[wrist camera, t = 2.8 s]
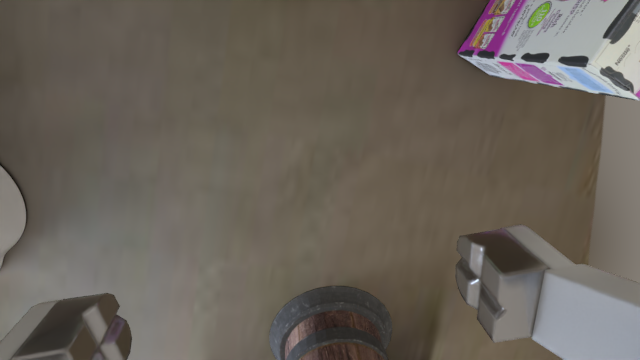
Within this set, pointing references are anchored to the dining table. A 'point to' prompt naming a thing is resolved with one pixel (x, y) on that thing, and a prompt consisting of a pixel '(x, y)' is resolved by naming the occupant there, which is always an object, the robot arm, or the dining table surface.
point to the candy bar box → (560, 44)
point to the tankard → (332, 326)
